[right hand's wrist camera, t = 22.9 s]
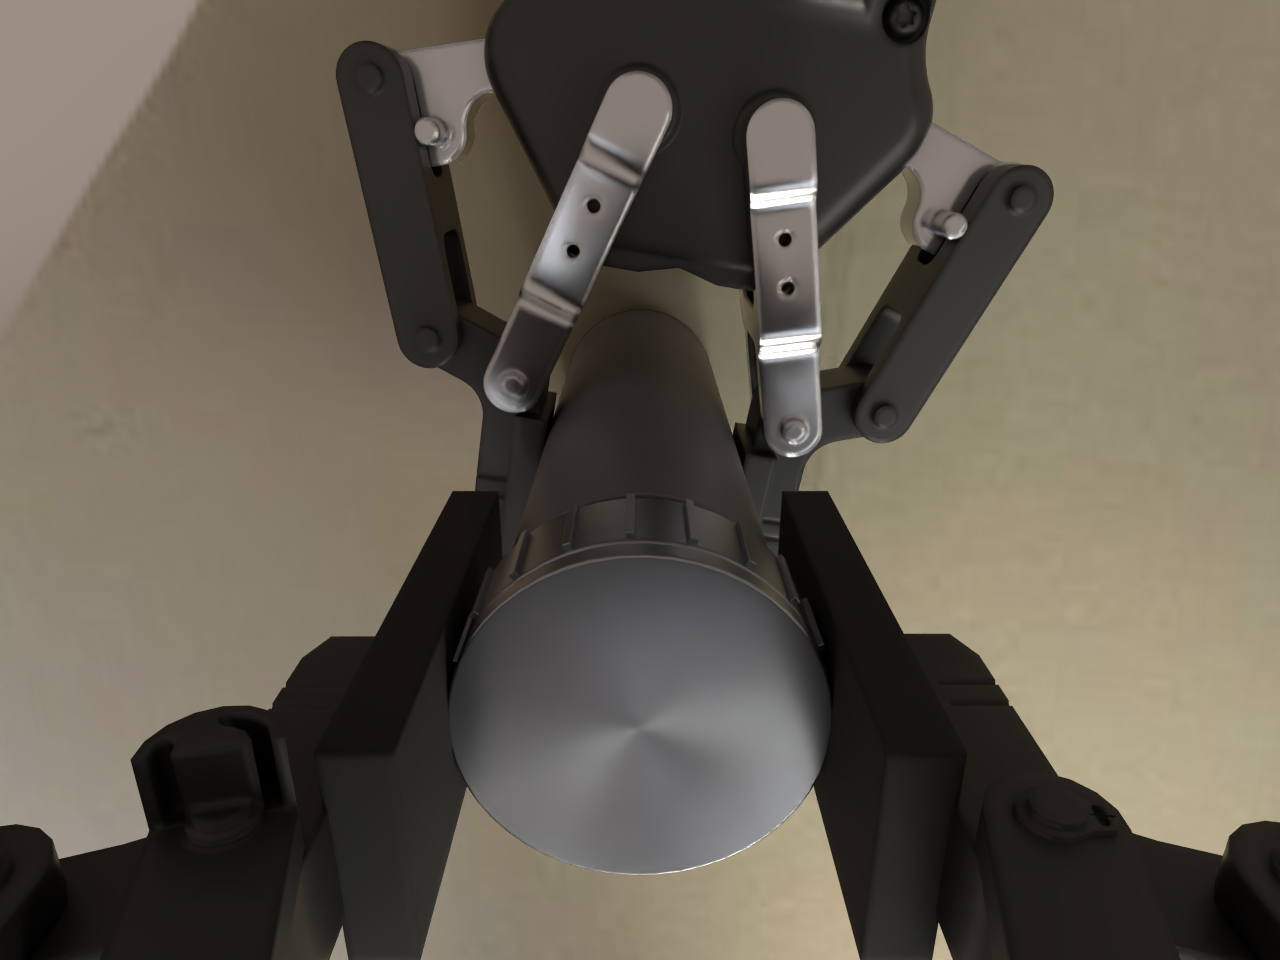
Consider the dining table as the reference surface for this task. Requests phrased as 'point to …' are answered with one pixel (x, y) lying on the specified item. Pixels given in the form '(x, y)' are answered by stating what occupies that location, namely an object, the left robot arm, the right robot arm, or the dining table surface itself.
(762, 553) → the lid
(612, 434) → the jar
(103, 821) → the dining table surface
